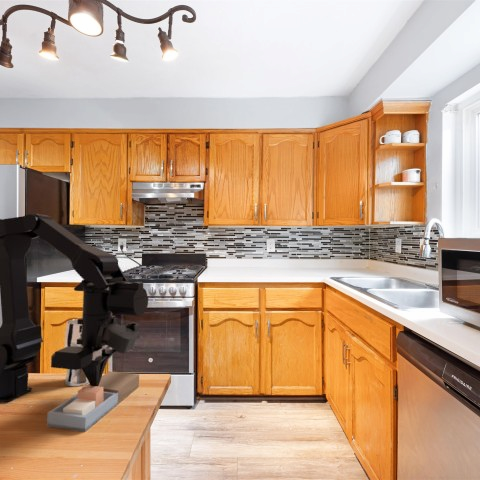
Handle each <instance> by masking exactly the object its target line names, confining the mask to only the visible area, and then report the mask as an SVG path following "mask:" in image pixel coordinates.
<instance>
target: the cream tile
mask: <svg viewBox="0 0 480 480" xmlns="http://www.w3.org/2000/svg"><path fill="white" fill-rule="evenodd" d="M95 403H96V401H95V400H86V399H76V400H75V401H73V402H72V403H70V404H69V405H67V406H66V407H64V408H63V413H69V414H76V415H84V416H85V415H87V414H88V413H89V412H91V411H92V410H93V409H94V408H95Z"/></svg>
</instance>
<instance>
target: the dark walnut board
mask: <svg viewBox="0 0 480 480" xmlns="http://www.w3.org/2000/svg"><path fill="white" fill-rule="evenodd" d="M87 385H89V386H91V385H90V383H87ZM99 387H103V391H107V392H116V393H118V405H119V404H120V403H122V402H123V401H124V400H126V398H128V397H129V396H130V395H131V394H132V393H133V392H135V391H136V390H137V389H138V388H139V387H140V374H139V373H138V374H137V373H130V372H129V373H128V372H120V371H107V372H106V373H103V374H102V377H101V380H100V383H99Z"/></svg>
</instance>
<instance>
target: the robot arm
mask: <svg viewBox="0 0 480 480" xmlns="http://www.w3.org/2000/svg"><path fill="white" fill-rule="evenodd" d="M37 238H40V239H41V240H43V242H45V243H47V244H48V245H50V246H51V247H52V248H54V249H55V250H56V251H58V252H59V253H61V254H62V255H63V256H64V257H65V258H67V259H68V260H69V261H70V263H71V265H72V266H71V267H72V269H73V270H74V271H75V272H76V274H77V275H78V276H80V278H81V279H82V280H81V282H80V283H79V284H77V285H76V286H74V287H73V290H74V291H75V292H83V293H82V295H83V296H82V317H81V318H77V319H78V321H77V324H82V337H81V338H79V339H77V344H80V345H82V346H83V347H74V346H68V347H65V346H64V347H63V348H61V349H59V350H56V351H55V352H54V353H52V355H51V356H50V368H53V369H54V368H55V369H61V370H62V369H63V370H64V369H65V370H67V369H72V370H78V369H82V370H83V372H84V374H85V376H86V378H87V379H88V381H89V383H88V384H90V385H91V386H99V383H100V380H101V377H102V376H103V375H104V371H105V368H106V366H107V364H108V361H109V359H110V358H111V357H112V356H114V355H115V354H117V352H118V353H121V354H124V353H127V352H128V351H129V350H131V349H134V346H135V345H136V341H137V340H138V339H140V337H141V336H140V333H141V332H140V324H139V323H137V322H135V321H132V322H130V323H128V324H127V325H125V324H122V325H121V324H119V323H118V317H117V315H121V316H123V315H125V316H136V317H137V316H138V317H140V316H143V315H144V314H145V313H146V311H147V308H148V305H149V296H148V293H147V290H146V288H145V287H144V282H143V281H135V282H129V280H128V278H127V277H126V276H125V274H124V272H123V271H122V268H121V267H120V265H119V259H118V258H117V256H115V255H114V254H112V253H110V252H108V251H105V250H103V249H101V248H97V247H95V246H92V245H89V244H88V243H85V242H84V241H83V240H81V239H80V238H79V237H77V236H76V235H75V234H73V233H72V232H70V231H69V230H67V229H66V228H65V227H63V225H60V224H59V223H57V221H55V219H54V218H53V217H51V216H50V215H47V214H46V215H45V214H42V213H41V214H40V213H30V214H26V215H25V214H24V215H23V216H16V217H8V218H0V307H1V309H0V310H1V320H2V321H1V325H0V402H3V403H9V402H11V401H13V400H15V399H17V398H19V397H21V396H24V395H25V394H27V393H29V392H31V391H32V390H33V387H32V386H31V387H30V386H28V385H29V372H28V367H29V366H28V365H29V364H30V363H34V362H35V361H36V358H37V356H38V353H39V351H41V348H42V343H44V340H43V337H42V327H41V325H40V324H37V325H36V324H34V323H33V321H32V320H31V318H30V310H29V297H28V296H29V295H28V285H27V284H28V282H27V270H26V256H27V254H28V252H29V251H30V249H31V248H32V242H33V241H32V240H33V239H37ZM113 314H114V315H113Z"/></svg>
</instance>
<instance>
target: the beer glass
mask: <svg viewBox="0 0 480 480" xmlns="http://www.w3.org/2000/svg"><path fill="white" fill-rule="evenodd" d="M78 319H79V318H76V319H70V320H68V321H66V327H65V328H66V329H65V335H64V348H65V347H68V346H74V347H83V346H82V345H80V344H77V339H79V338H81V337H82V324H77V321H78ZM66 370H67V372H66V376H65V380H64V384H65V386H68V387H81V386H86V385H88V384H90V383H89V381H88V379H87V378H86V376H85V374H84V372H83V370H82V369H78V370H72V369H66Z"/></svg>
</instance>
